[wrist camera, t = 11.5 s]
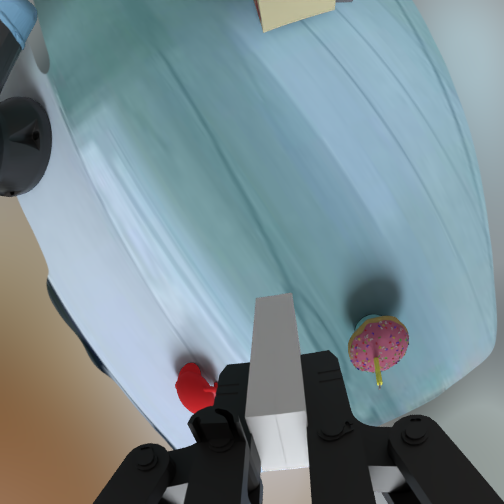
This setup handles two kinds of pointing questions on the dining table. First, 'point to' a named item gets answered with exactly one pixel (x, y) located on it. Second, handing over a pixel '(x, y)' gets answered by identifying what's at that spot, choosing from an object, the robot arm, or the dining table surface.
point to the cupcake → (378, 344)
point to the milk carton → (289, 11)
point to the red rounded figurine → (194, 389)
